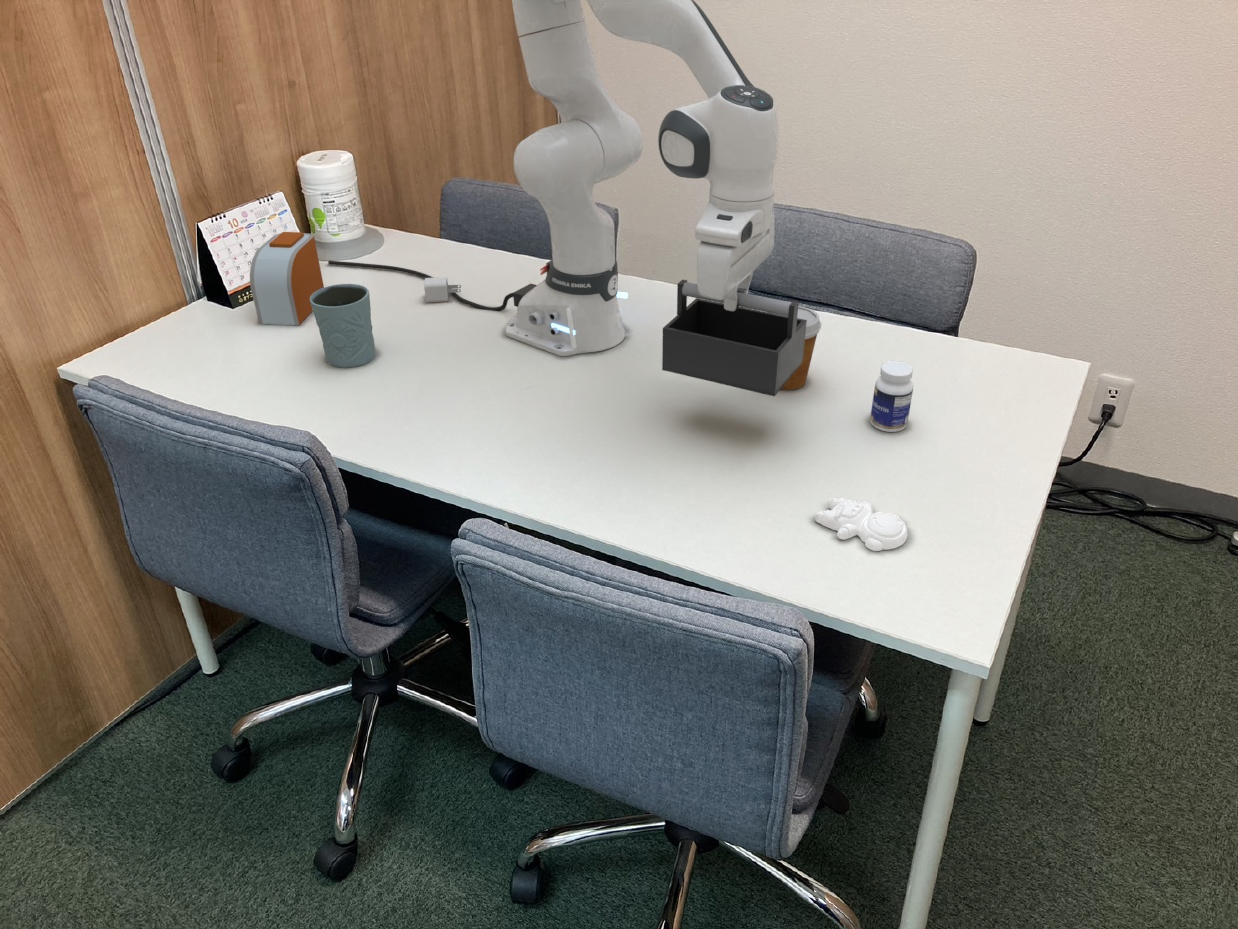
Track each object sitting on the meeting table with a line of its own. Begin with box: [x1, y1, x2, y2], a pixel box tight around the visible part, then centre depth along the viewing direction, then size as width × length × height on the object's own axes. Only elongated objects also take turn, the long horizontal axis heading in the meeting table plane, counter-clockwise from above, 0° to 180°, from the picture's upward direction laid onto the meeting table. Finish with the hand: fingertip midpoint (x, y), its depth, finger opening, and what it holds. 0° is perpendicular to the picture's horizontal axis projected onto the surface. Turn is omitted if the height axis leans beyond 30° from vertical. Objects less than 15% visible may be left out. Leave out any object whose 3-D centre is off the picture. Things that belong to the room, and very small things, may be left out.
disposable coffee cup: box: [769, 305, 822, 391], centre depth 164 cm, size 10×10×12 cm
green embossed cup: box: [310, 283, 376, 369], centre depth 174 cm, size 10×10×12 cm
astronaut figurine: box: [814, 497, 908, 552], centre depth 132 cm, size 9×12×3 cm
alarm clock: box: [249, 231, 325, 326], centre depth 191 cm, size 15×8×14 cm, turn 172°
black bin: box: [661, 279, 807, 397], centre depth 147 cm, size 18×12×12 cm, turn 62°
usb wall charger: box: [423, 276, 462, 303], centre depth 197 cm, size 4×7×4 cm, turn 96°
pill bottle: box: [869, 360, 914, 433], centre depth 153 cm, size 6×6×10 cm
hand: (735, 304), depth 144 cm, fingers closed on black bin
